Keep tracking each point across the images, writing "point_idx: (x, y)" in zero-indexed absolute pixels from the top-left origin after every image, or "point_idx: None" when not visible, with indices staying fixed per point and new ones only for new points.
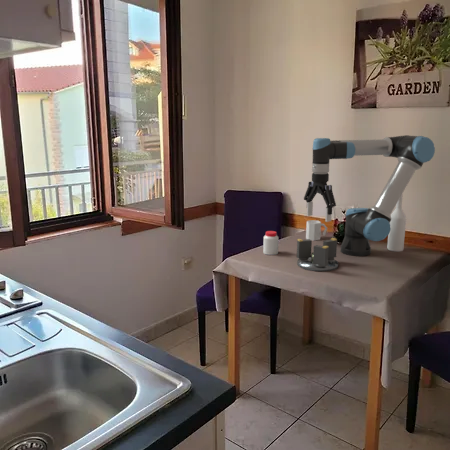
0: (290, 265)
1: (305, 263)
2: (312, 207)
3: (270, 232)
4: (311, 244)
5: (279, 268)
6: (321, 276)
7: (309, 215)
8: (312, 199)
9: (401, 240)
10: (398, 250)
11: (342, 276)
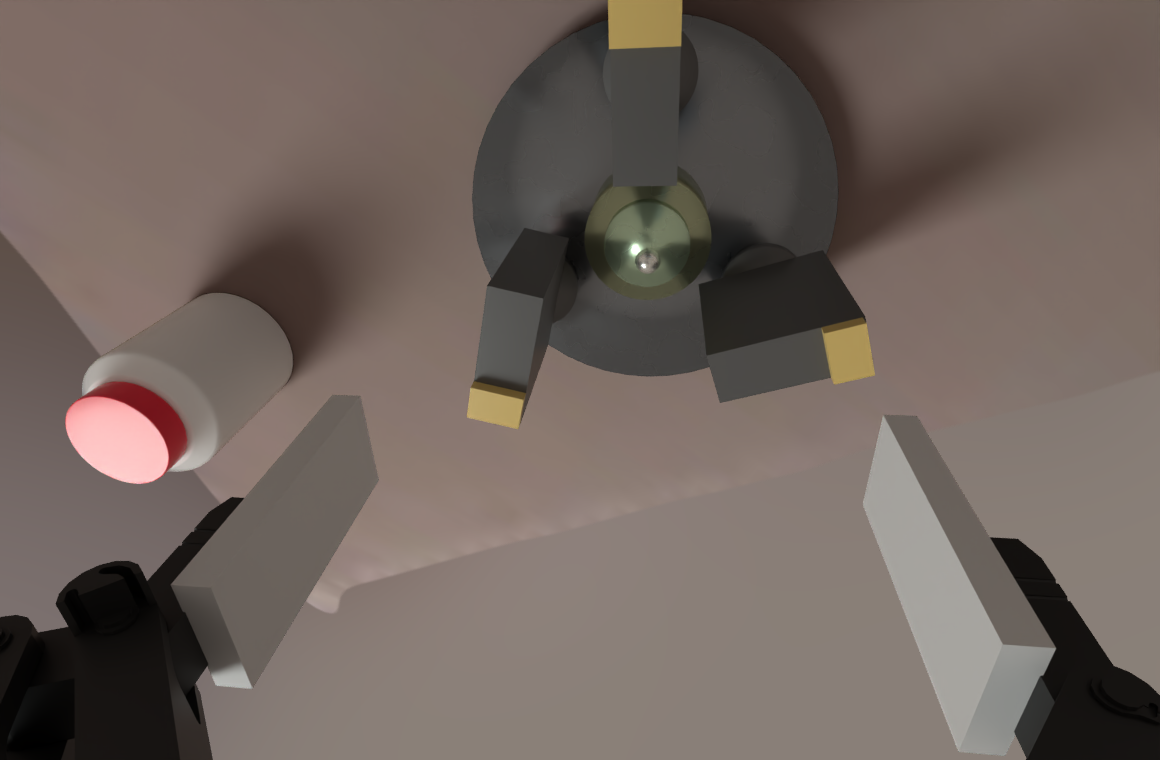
0: (562, 394)
1: (634, 332)
2: (286, 495)
3: (125, 450)
4: (550, 283)
5: (582, 482)
6: (878, 356)
7: (369, 453)
8: (167, 660)
9: None
10: None
11: (995, 218)
